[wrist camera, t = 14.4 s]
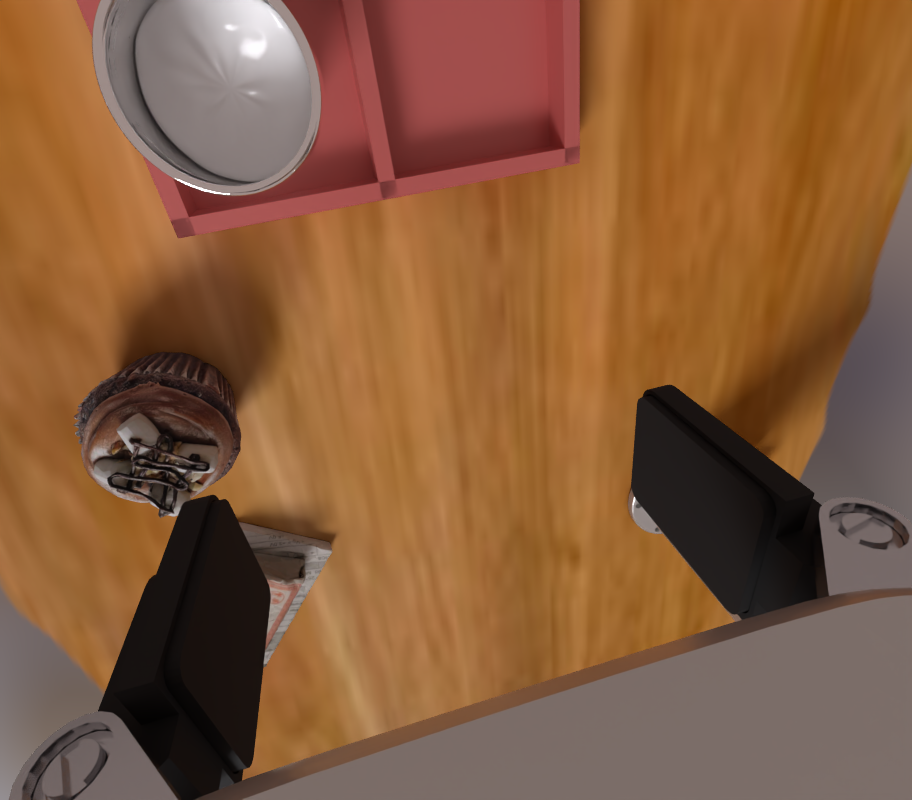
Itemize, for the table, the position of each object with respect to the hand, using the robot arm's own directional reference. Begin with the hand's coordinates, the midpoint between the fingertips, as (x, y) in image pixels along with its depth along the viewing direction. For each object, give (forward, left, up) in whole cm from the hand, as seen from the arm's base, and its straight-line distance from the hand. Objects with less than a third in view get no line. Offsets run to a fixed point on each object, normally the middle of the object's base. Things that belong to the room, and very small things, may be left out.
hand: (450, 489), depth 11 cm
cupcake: (+16, +9, -27) cm, 33 cm away
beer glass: (+4, -9, -27) cm, 28 cm away
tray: (-2, -9, -27) cm, 29 cm away
